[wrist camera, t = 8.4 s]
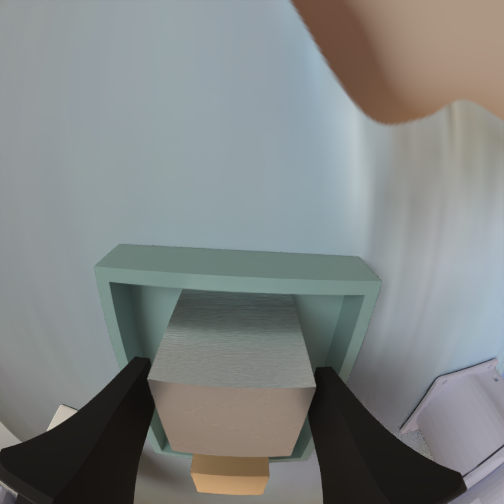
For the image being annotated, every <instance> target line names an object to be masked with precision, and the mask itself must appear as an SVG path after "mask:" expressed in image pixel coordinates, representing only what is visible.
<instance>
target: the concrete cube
mask: <svg viewBox="0 0 504 504" xmlns="http://www.w3.org/2000/svg"><path fill="white" fill-rule="evenodd" d="M147 380H148V384H149V387H150V390H151V393H152V396H153V399H154V403H155V405H156V408H157V411H158V414H159V417H160V420H161V423H162V425H163V428H164V431H165V433H166V436H167V438H168V441H169V443H170V446H171V448H172V451H179V452H186V453H194V454H204V455H215V456H233V457H277V456H291V453H292V451H293V448H294V446H295V444H296V441H297V439H298V436H299V434H300V431H301V428H302V426H303V423H304V421H305V418H306V415H307V412H308V410H309V407H310V404H311V401H312V398H313V395H314V392H315V389H316V383H315V380H314V376H313V372H312V368H311V364H310V361H309V357H308V353H307V349H306V346H305V342H304V338H303V335H302V331H301V328H300V324H299V320H298V317H297V313H296V310H295V306H294V303H293V299H292V296H291V294H274V293H250V292H230V291H213V290H198V289H184V288H183V289H182V291H181V294H180V296H179V299H178V301H177V303H176V306H175V308H174V311H173V313H172V316H171V318H170V321H169V323H168V326H167V328H166V331H165V333H164V336H163V338H162V341H161V343H160V346H159V348H158V351H157V354H156V356H155V359H154V362H153V364H152V367H151V370H150V372H149V375H148V378H147Z"/></svg>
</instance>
